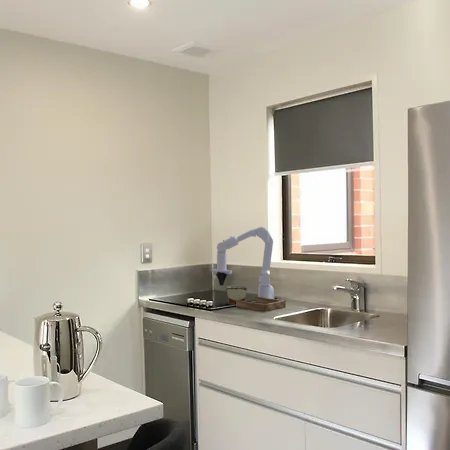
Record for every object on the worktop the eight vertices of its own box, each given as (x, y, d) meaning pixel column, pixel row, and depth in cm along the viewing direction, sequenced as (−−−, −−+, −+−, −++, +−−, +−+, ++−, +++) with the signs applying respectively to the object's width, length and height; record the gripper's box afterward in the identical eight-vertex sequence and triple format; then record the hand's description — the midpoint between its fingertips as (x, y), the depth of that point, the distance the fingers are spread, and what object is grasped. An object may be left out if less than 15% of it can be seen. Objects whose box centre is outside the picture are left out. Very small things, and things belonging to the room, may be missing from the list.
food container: (248, 302, 305) (248, 285, 305) (247, 304, 299) (247, 287, 299) (227, 302, 307) (227, 285, 306) (226, 304, 300) (226, 286, 300)
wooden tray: (256, 302, 305) (256, 296, 305) (285, 306, 291) (285, 300, 291) (235, 306, 291) (235, 300, 291) (265, 311, 278) (265, 304, 278)
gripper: (208, 262, 312) (208, 284, 313) (226, 263, 303) (226, 287, 303) (216, 261, 317) (216, 283, 318) (234, 262, 308) (234, 285, 308)
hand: (221, 285), depth 311 cm, fingers closed
